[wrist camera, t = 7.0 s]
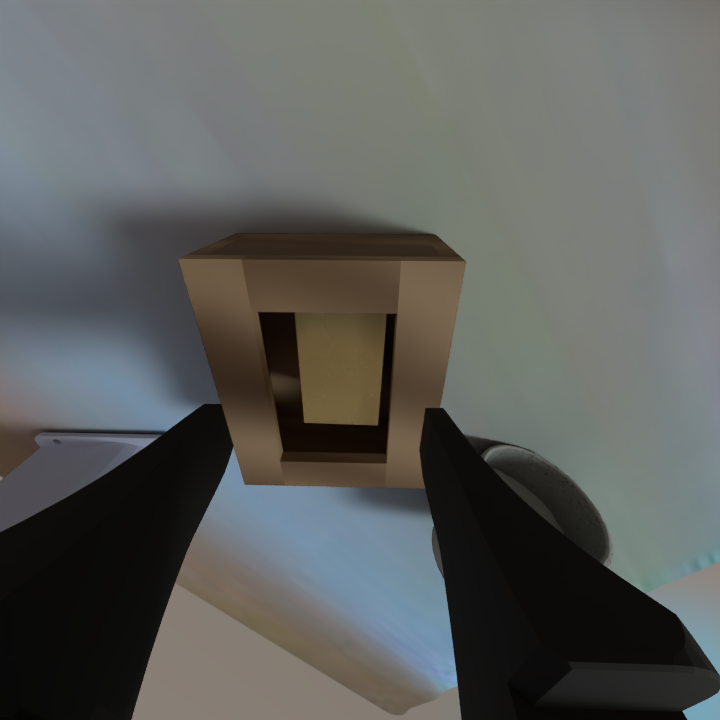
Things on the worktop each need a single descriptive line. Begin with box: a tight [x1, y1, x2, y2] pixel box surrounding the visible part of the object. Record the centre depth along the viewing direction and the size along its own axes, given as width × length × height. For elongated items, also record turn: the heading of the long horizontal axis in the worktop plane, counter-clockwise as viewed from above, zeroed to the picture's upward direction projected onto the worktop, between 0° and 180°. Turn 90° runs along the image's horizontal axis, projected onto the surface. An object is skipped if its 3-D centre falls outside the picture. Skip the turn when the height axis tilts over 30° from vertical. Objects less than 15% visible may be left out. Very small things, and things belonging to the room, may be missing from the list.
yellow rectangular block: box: [295, 312, 387, 425], centre depth 14 cm, size 6×4×3 cm, turn 178°
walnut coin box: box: [178, 233, 466, 489], centre depth 15 cm, size 11×9×5 cm
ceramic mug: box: [432, 444, 613, 578], centre depth 19 cm, size 11×8×8 cm
